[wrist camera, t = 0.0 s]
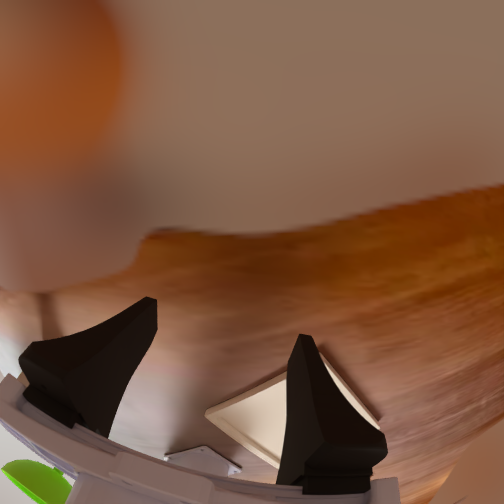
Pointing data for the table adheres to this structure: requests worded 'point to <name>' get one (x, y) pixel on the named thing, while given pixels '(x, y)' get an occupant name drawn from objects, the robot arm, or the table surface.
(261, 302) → the table surface
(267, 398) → the tray
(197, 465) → the robot arm
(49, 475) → the wineglass
